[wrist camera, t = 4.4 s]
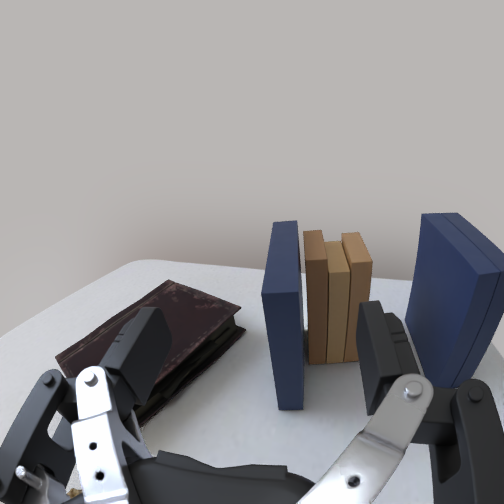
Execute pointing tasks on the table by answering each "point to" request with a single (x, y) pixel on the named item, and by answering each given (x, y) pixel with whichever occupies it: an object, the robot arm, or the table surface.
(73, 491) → the sponge
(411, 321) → the navy book pair
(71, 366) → the diary
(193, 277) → the table surface
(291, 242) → the navy book
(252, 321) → the table surface
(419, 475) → the table surface
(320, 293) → the tan books
